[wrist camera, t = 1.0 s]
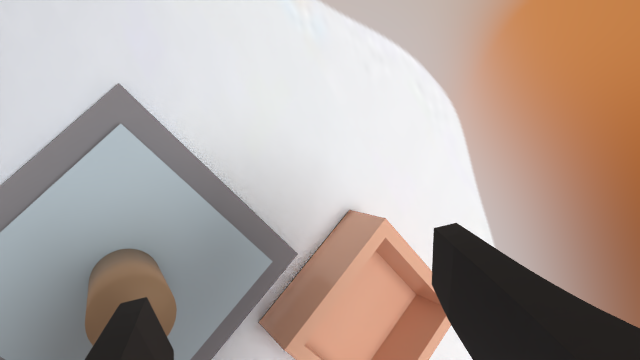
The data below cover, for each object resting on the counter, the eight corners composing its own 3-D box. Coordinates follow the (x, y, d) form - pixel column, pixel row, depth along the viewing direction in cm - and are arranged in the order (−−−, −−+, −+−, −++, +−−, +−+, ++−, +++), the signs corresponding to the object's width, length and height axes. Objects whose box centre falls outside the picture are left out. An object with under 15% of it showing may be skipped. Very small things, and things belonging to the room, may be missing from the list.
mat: (130, 451, 19) (130, 457, 19) (-137, 306, 15) (-143, 310, 14) (294, 252, 23) (297, 254, 22) (118, 84, 18) (118, 83, 18)
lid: (129, 420, 19) (138, 506, 14) (-76, 301, 15) (-152, 365, 11) (266, 257, 22) (311, 286, 17) (120, 124, 18) (126, 114, 13)
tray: (348, 395, 25) (383, 429, 22) (258, 322, 22) (284, 350, 19) (421, 289, 27) (462, 306, 24) (349, 209, 24) (385, 218, 21)
